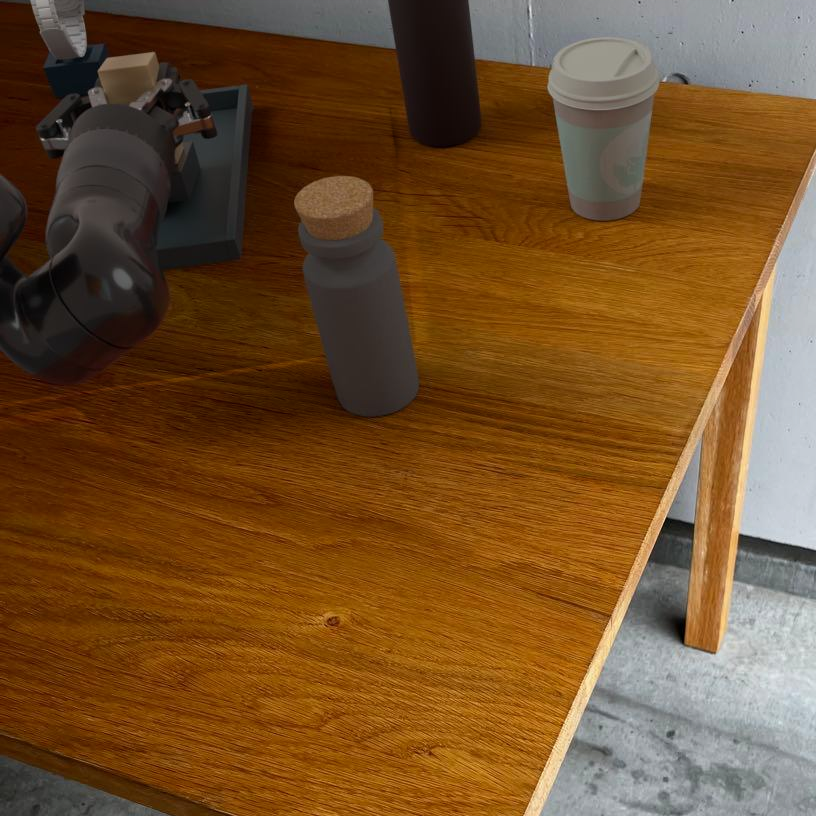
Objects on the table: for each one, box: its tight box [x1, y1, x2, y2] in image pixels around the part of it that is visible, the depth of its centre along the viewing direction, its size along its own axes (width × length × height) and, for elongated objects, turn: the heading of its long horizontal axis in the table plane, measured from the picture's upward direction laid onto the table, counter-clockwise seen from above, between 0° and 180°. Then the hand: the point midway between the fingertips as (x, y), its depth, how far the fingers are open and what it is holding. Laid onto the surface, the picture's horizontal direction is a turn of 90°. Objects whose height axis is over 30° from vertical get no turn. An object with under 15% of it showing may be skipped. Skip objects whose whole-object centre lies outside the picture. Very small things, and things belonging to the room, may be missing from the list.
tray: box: [156, 84, 255, 271], centre depth 93 cm, size 14×28×2 cm, turn 8°
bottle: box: [293, 175, 420, 418], centre depth 68 cm, size 6×6×15 cm
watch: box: [30, 0, 111, 99], centre depth 105 cm, size 6×8×11 cm
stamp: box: [98, 51, 200, 203], centre depth 88 cm, size 5×8×10 cm, turn 8°
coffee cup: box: [547, 36, 660, 222], centre depth 83 cm, size 8×8×12 cm
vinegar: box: [387, 0, 482, 148], centre depth 90 cm, size 7×7×20 cm
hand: (140, 77), depth 89 cm, fingers closed on stamp, 4 cm apart
